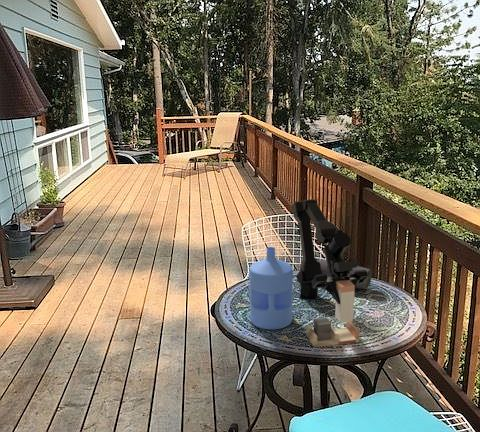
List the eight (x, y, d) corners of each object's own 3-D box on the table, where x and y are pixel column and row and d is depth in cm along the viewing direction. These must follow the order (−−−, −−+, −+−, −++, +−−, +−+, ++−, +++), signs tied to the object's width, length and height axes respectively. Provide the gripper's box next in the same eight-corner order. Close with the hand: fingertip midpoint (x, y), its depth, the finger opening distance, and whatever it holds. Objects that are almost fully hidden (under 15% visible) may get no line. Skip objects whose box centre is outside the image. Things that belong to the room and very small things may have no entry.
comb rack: (306, 335, 170) (306, 317, 168) (349, 330, 172) (349, 312, 170) (314, 347, 162) (314, 328, 160) (359, 342, 165) (359, 323, 163)
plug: (335, 316, 168) (336, 281, 164) (347, 315, 169) (349, 280, 165) (340, 322, 164) (341, 287, 160) (353, 321, 164) (354, 285, 161)
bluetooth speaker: (371, 287, 206) (372, 264, 204) (364, 295, 199) (365, 272, 196) (320, 276, 218) (321, 255, 215) (312, 284, 210) (312, 262, 208)
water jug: (250, 310, 189) (248, 241, 181) (291, 310, 188) (291, 240, 180) (249, 331, 174) (248, 256, 166) (294, 330, 173) (294, 256, 165)
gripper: (315, 252, 162) (326, 297, 154) (368, 247, 165) (381, 291, 158) (306, 266, 171) (317, 309, 164) (357, 261, 175) (369, 302, 167)
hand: (346, 302), depth 163 cm, fingers closed on plug, 4 cm apart
